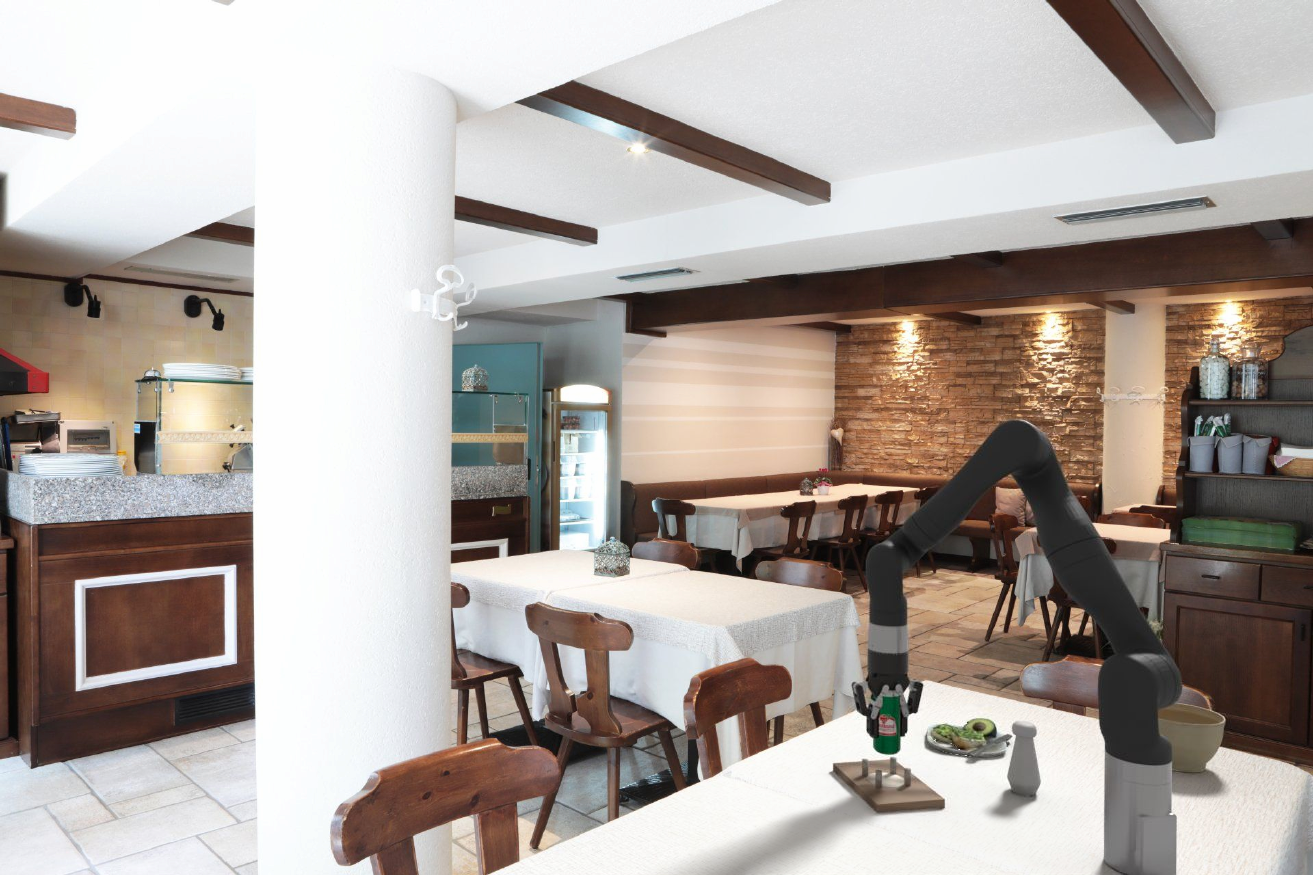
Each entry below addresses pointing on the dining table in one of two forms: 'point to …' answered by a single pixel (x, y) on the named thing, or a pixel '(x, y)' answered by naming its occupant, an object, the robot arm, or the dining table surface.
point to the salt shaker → (1024, 760)
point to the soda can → (888, 725)
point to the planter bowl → (1191, 735)
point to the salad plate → (970, 738)
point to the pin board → (888, 785)
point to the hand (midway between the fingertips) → (887, 735)
